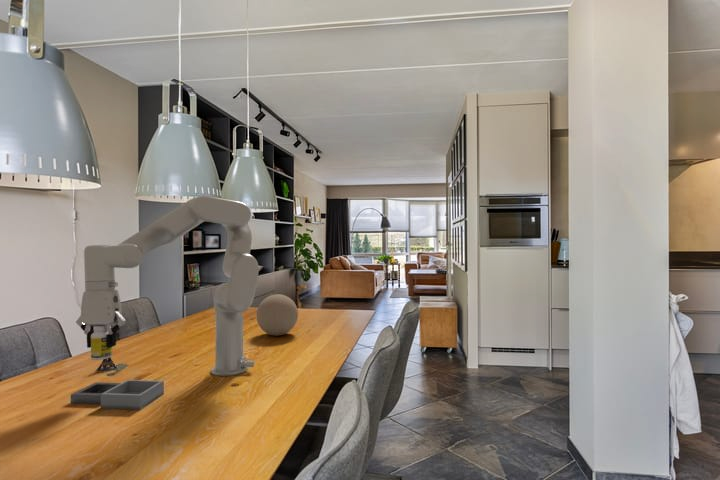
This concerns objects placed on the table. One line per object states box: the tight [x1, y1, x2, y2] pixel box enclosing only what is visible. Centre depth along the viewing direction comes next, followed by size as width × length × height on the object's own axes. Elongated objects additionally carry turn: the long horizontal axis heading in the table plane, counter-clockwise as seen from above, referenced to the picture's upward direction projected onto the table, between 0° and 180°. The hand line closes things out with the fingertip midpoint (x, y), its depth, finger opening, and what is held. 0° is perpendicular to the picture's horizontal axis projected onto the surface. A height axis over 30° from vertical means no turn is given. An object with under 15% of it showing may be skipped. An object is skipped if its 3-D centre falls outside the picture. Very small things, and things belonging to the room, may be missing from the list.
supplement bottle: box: [90, 325, 113, 361], centre depth 122 cm, size 5×5×10 cm
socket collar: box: [70, 381, 122, 405], centre depth 122 cm, size 10×10×2 cm
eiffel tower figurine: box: [96, 356, 129, 377], centre depth 148 cm, size 15×10×13 cm
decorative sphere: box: [256, 293, 299, 337], centre depth 201 cm, size 20×20×20 cm
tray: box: [100, 379, 165, 411], centre depth 119 cm, size 12×12×4 cm
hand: (101, 345), depth 122 cm, fingers closed on supplement bottle, 5 cm apart
